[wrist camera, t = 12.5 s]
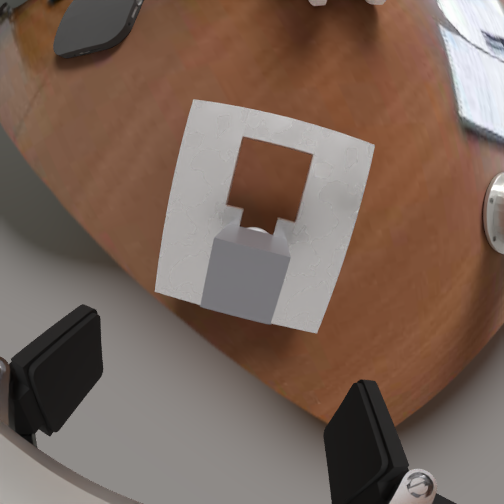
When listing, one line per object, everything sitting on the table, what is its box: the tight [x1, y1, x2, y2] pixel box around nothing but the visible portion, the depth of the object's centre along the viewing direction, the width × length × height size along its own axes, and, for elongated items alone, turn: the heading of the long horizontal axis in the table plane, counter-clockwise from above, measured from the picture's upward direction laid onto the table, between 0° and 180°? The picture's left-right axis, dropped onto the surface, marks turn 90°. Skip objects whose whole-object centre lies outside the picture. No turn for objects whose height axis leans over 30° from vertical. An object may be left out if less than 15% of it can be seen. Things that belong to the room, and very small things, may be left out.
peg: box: [200, 224, 291, 325], centre depth 23 cm, size 5×5×10 cm
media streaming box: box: [53, 0, 144, 58], centre depth 24 cm, size 15×15×3 cm
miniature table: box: [155, 99, 375, 333], centre depth 27 cm, size 16×18×8 cm
